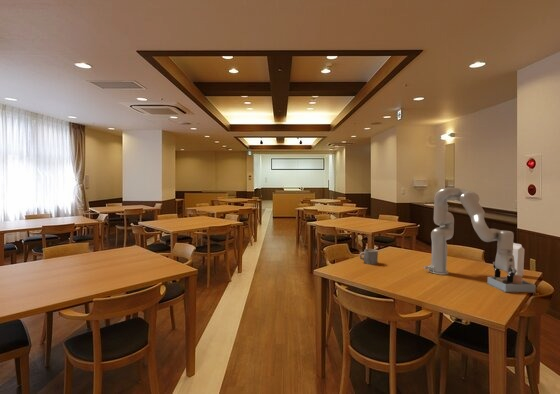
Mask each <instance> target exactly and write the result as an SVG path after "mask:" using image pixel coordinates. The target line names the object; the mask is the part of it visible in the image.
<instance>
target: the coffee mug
mask: <svg viewBox="0 0 560 394" xmlns="http://www.w3.org/2000/svg"><path fill="white" fill-rule="evenodd" d="M362 255H363V257H362ZM378 255H379V251H378V249H374V248H365V249H364V251H361V252H360V253H359V258H360V260H362V261H363V264H365V265H371V266H375V265H378Z"/></svg>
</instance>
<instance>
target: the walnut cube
mask: <svg viewBox="0 0 560 394" xmlns="http://www.w3.org/2000/svg"><path fill="white" fill-rule="evenodd" d="M496 280H497V281H499V282H502V283H504V284H511V283H508V282H507V278H496Z"/></svg>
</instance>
